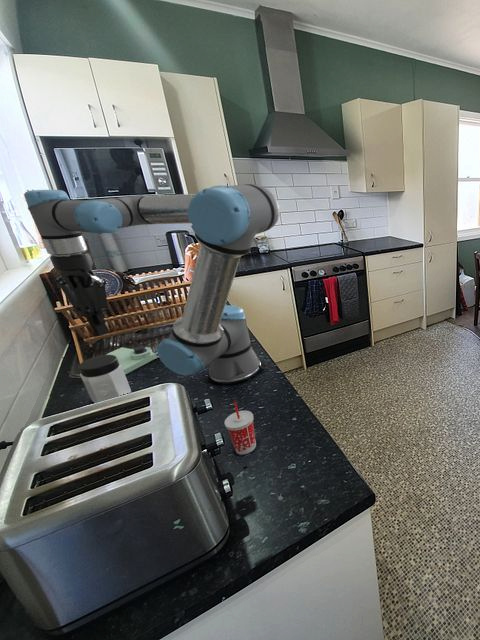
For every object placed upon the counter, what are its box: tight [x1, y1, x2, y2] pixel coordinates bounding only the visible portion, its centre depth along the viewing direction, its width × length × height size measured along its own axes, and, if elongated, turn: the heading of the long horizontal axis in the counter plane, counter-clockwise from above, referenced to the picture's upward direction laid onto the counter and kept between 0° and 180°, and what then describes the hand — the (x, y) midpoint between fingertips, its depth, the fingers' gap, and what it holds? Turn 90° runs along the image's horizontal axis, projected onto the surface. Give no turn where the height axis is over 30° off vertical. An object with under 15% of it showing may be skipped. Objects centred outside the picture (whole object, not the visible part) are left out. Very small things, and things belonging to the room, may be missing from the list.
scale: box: [105, 346, 158, 376], centre depth 118 cm, size 15×12×4 cm
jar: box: [77, 354, 132, 404], centre depth 99 cm, size 9×8×12 cm
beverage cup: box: [224, 400, 257, 455], centre depth 83 cm, size 6×6×14 cm
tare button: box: [133, 345, 146, 354], centre depth 119 cm, size 3×3×2 cm
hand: (101, 333), depth 100 cm, fingers closed
